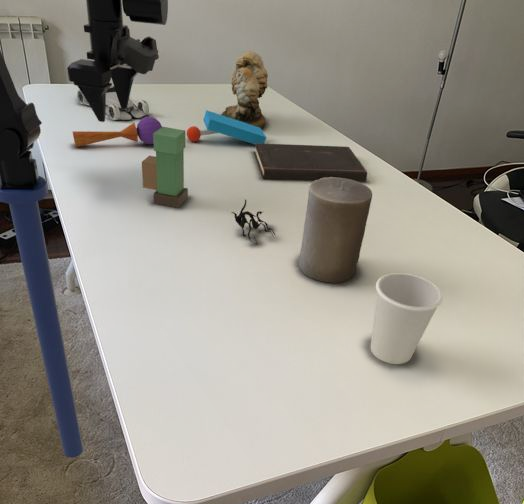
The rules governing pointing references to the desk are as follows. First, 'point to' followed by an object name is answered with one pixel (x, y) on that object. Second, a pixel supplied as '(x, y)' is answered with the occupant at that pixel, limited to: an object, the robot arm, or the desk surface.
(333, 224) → the pillar candle
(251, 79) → the brown mottled upright lump
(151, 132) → the kendama
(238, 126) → the lever
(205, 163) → the desk surface
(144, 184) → the green block pillar
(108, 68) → the robot arm
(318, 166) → the hardcover book
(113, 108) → the car model
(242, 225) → the creature
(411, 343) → the dixie cup
